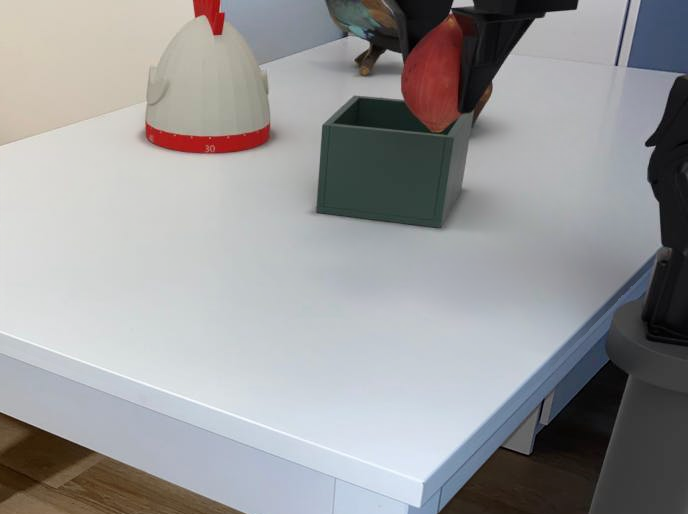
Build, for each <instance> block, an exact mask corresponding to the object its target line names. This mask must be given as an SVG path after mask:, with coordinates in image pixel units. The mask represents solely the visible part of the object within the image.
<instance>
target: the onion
mask: <svg viewBox="0 0 688 514" xmlns="http://www.w3.org/2000/svg"><path fill="white" fill-rule="evenodd" d="M462 42H463V32H462V30H461V28H460V26H459V24H458V22H457V21H456V19H455V17H454V15H453V13H452V12H450V14H449V16H448V17H447V18H446V19H445V20H444V21H442V22H441V23H440V24H439V25H438V26H437V27H436V28H434V29H432V30H431V31H430V32H429V33H427V34H426V35H425V36H424V37H423V38H422V39H421V40H420V41H419V43H418V44H417V45H416V46H415V47H414V48H413V50H412V51H411V53H410V54H409V56H408V57H407V60H406V62H405V64H403V67H402V71H401V75H400V93H401V95H402V98H403V100H404V101H405V103H406V105H407V106H408V108H409V109H410V110H411V112H412V113H413V114H414V115H415V116H416V117H417V118H418V119H419V120H420V121H421V122H422V123H423V124H424V125H426V127H427V128H428V129H429V130H430V131H432V132H441V131H443V130H444V129H446V128H447V127H448V126H449V125H450V124H451V123H452V122H454V121H455V120H457V119H458V118H459V117H461V116H462V115H463V114H460V113H458V84H459V73H460V63H461V52H462Z"/></svg>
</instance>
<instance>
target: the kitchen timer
mask: <svg viewBox="0 0 688 514" xmlns="http://www.w3.org/2000/svg"><path fill="white" fill-rule="evenodd" d="M192 7H193V13H194V14H193V15H194V18H192V19H191V20H189V21H188V22H187V23H186V24H184V25H183V26H182V27H180V29H179V30H178V31H177V32H176V33H175V35H174V36H173V37H172V38H171V40H170V41H169V43H168V44H167V46H166V48H165V49H164V51H163V52H162V54H161V57H160V59H159V61H158V63H157V66H153V65H150V66H149V71H148V79H147V85H146V96H145V97H146V107H145V118H144V121H145V123H144V125H145V128H144V129H145V136H146V140H147V141H149V142H150V143H152V144H153V145H155V146H157V147H161V148H164V149H167V150H174V151H179V152H185V153H197V154H198V153H199V154H220V153H221V154H222V153H231V152H233V153H234V152H240V151H245V150H249V149H254V148H257V147H259V146H262V145H264V144H265V143H267V142H268V141H269V140H270V136H271V109H270V102H269V97H268V95H269V93H270V92H269V91H270V90H269V80H268V71H267V69H263V70H261V67H260V64H259V62H258V60H257V57H256V56H255V53H254V52H253V50H252V49H251V47H250V45H249V43H248V42H247V41H246V39H245V38H244V36H243V35H242V34H241V32H239V31H238V30H237V29H236V28H235V26H233V25H232V24H231V23H229V22H228V21H227V20H225V18H226V12H223V11H222V12H221V0H192Z"/></svg>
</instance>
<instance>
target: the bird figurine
mask: <svg viewBox="0 0 688 514" xmlns="http://www.w3.org/2000/svg"><path fill="white" fill-rule="evenodd" d="M324 2H325V5H326V8H327V10H328V13H329V16H330V18H331V20H332V21H333V23H334V25H335V27H337V28H338V29H339V30H341V31H343V32H346V33H349V34H353V35H354V36H356V37H358V38H360V39H361V40H364V41H367V42H369V47H368V48H367V49H366V50H363V52H362V53H360V54H359V55H358V56H356V58H354V62H355V63H356V64H357V66H359V74H360V75H362V76H363V77H364V76H365V77H366V76H368V75H369V74H370V72H371V71H372V70H373V69H374V66H375V65H376V63H377V61H378V59H379V58H380V56H382V55H383V54H385V53H386V51H390V52H393V53H397V54H401V55H402V52H401V46H400V45H401V44H400V40H399V34H398V30H397V25H396V21H395V17H394V14H393V12H392V10H391V9H390V8H389V6H388V5H387V6H386V3H385V2H384V1H383V0H324Z"/></svg>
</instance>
